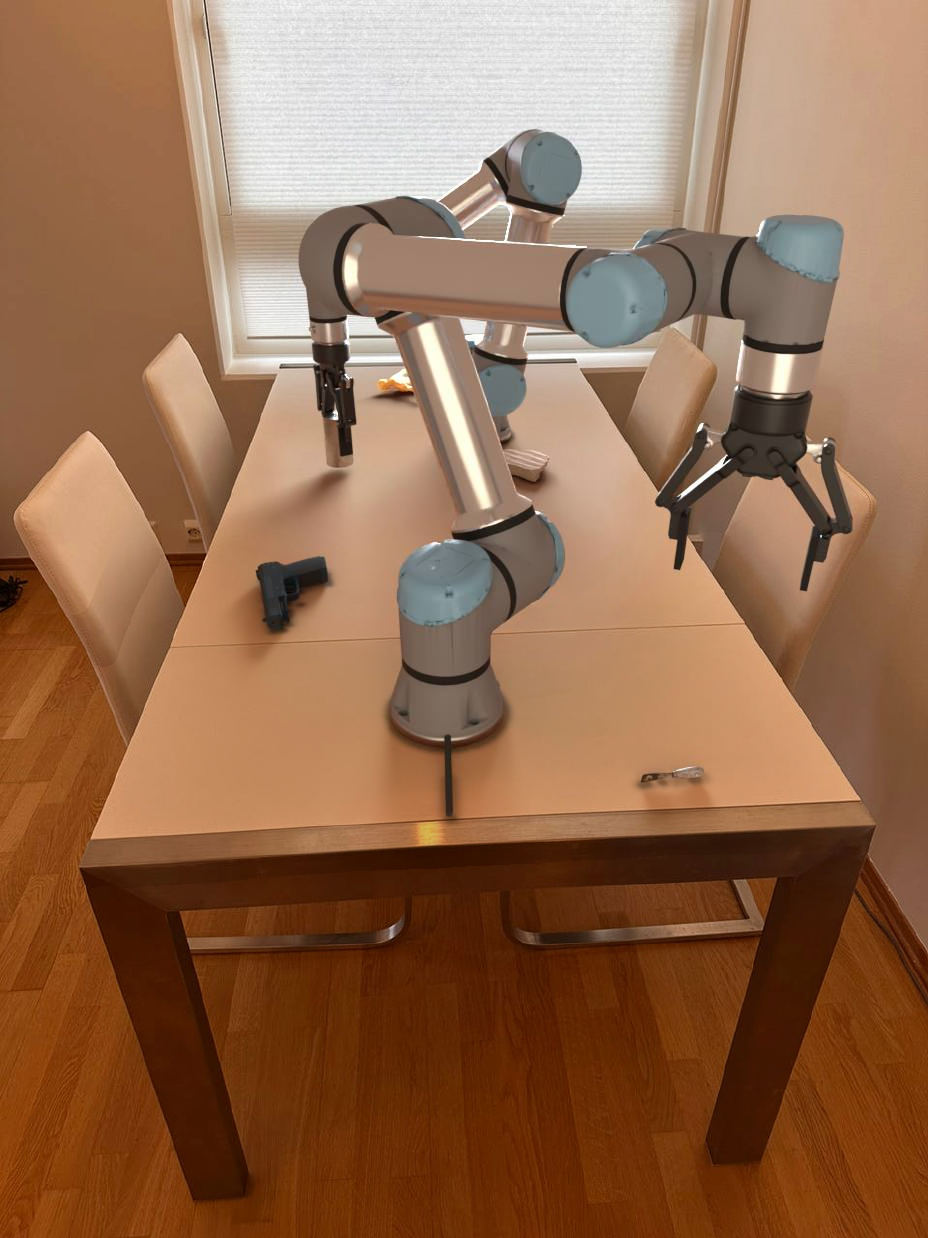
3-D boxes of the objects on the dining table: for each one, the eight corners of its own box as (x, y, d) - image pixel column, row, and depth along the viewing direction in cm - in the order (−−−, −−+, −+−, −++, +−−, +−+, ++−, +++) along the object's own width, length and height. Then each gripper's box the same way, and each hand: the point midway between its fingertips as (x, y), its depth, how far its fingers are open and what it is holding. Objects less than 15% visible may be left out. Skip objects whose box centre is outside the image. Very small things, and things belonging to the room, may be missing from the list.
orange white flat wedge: (371, 392, 238) (370, 377, 236) (413, 371, 252) (412, 357, 250) (432, 405, 230) (432, 390, 227) (472, 383, 244) (472, 369, 241)
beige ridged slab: (554, 462, 195) (554, 451, 194) (536, 482, 186) (537, 471, 185) (499, 454, 200) (499, 444, 198) (479, 474, 190) (479, 463, 189)
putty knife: (703, 777, 109) (705, 767, 109) (642, 788, 108) (644, 777, 107) (700, 772, 110) (702, 762, 109) (639, 782, 109) (640, 771, 108)
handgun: (340, 621, 141) (263, 633, 138) (325, 568, 155) (255, 578, 152) (339, 604, 139) (261, 615, 136) (323, 552, 153) (252, 561, 151)
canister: (357, 458, 194) (353, 411, 189) (348, 468, 190) (344, 420, 184) (332, 456, 195) (327, 409, 190) (322, 466, 191) (318, 418, 185)
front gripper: (909, 389, 88) (859, 578, 99) (655, 364, 95) (636, 542, 106) (912, 413, 82) (859, 611, 93) (641, 384, 89) (622, 570, 100)
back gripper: (293, 333, 184) (304, 440, 196) (334, 354, 170) (344, 468, 183) (325, 328, 187) (335, 433, 200) (369, 348, 174) (376, 460, 186)
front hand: (739, 574), depth 100 cm, fingers open, 13 cm apart
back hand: (339, 450), depth 191 cm, fingers closed on canister, 6 cm apart
